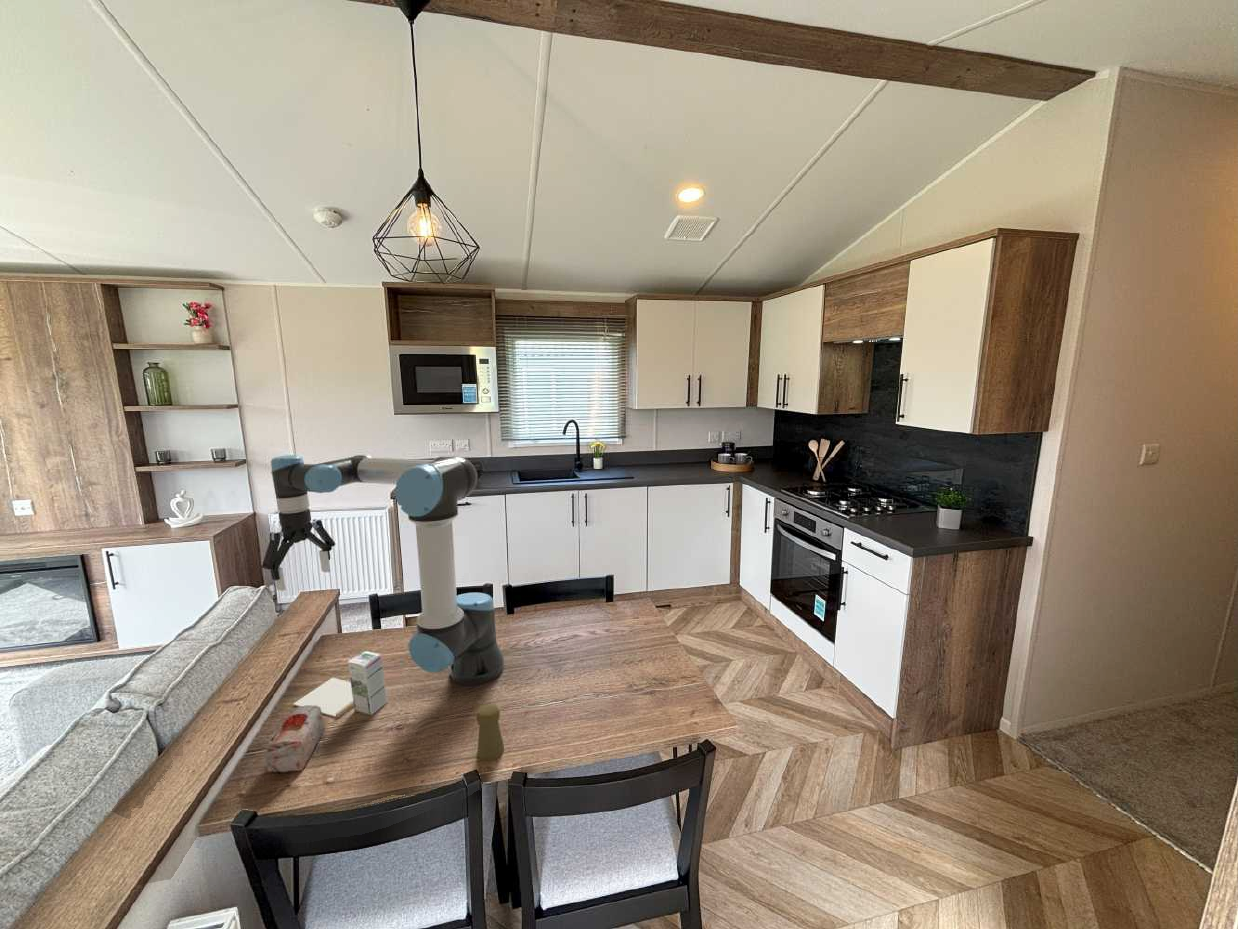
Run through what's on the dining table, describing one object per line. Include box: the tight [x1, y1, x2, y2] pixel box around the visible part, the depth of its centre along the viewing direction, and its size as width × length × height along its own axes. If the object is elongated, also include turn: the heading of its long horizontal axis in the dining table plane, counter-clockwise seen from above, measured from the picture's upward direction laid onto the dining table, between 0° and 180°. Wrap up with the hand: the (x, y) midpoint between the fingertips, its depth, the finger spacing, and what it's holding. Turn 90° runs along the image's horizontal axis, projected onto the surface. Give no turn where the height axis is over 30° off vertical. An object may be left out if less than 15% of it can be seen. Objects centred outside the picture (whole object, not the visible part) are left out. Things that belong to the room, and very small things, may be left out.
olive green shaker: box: [476, 703, 505, 762], centre depth 113 cm, size 6×6×11 cm
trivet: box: [292, 677, 354, 719], centre depth 134 cm, size 16×12×1 cm
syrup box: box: [347, 650, 388, 716], centre depth 129 cm, size 6×6×14 cm
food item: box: [264, 705, 325, 773], centre depth 113 cm, size 14×8×10 cm, turn 12°
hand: (304, 580), depth 144 cm, fingers open, 13 cm apart
